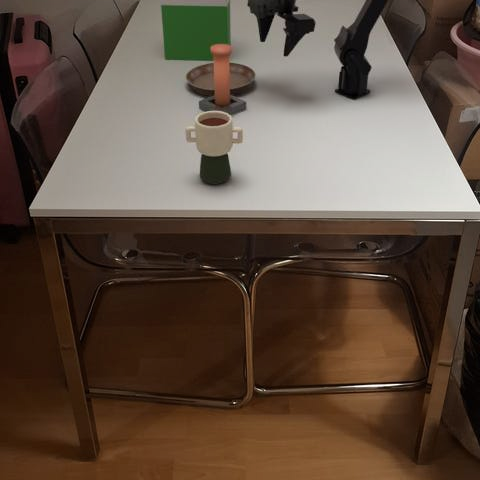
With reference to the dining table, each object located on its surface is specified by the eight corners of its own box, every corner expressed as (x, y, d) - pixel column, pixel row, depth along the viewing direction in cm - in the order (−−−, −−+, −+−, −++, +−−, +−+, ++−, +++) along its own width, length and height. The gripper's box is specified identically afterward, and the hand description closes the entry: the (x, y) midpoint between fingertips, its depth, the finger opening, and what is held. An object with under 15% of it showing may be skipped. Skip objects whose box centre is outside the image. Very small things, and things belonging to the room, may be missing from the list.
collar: (246, 109, 154) (246, 101, 153) (221, 119, 150) (220, 111, 148) (224, 99, 159) (224, 91, 157) (199, 108, 154) (198, 101, 153)
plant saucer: (194, 104, 157) (193, 92, 155) (180, 76, 171) (179, 65, 169) (263, 95, 160) (264, 84, 159) (244, 69, 174) (244, 58, 172)
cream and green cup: (243, 169, 131) (243, 110, 123) (241, 188, 125) (241, 127, 118) (190, 168, 132) (187, 109, 124) (186, 186, 126) (182, 126, 118)
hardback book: (165, 59, 180) (158, -31, 166) (169, 50, 186) (163, -38, 172) (228, 61, 179) (226, -30, 164) (230, 51, 185) (229, -37, 170)
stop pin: (236, 109, 154) (236, 47, 145) (221, 115, 151) (220, 53, 142) (223, 103, 157) (222, 42, 148) (208, 109, 154) (206, 47, 145)
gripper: (234, -32, 145) (224, 36, 154) (284, -5, 134) (270, 67, 143) (272, -32, 151) (260, 34, 160) (324, -6, 140) (308, 63, 149)
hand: (273, 48), depth 153 cm, fingers open, 9 cm apart
